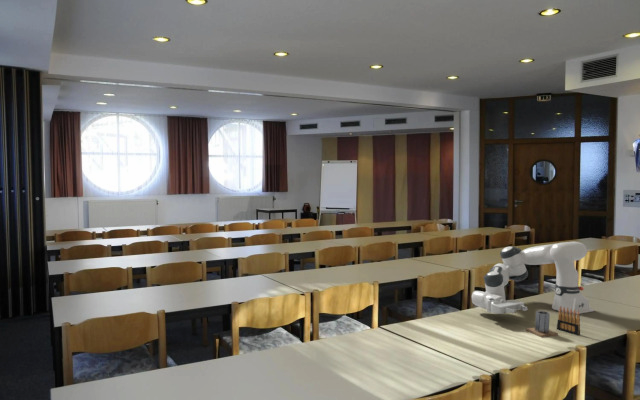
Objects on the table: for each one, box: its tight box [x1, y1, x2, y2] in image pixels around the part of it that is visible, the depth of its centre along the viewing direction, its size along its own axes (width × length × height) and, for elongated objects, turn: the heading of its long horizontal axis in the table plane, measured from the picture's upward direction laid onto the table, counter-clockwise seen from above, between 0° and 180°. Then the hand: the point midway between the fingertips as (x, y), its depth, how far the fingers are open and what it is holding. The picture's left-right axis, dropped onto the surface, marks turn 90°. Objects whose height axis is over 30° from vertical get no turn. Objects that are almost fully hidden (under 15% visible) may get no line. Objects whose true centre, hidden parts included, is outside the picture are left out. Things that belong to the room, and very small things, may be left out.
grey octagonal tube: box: [534, 310, 551, 333], centre depth 242 cm, size 6×6×9 cm
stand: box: [525, 327, 559, 338], centre depth 242 cm, size 10×10×9 cm
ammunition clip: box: [556, 306, 581, 336], centre depth 244 cm, size 11×2×12 cm, turn 36°
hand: (520, 310), depth 252 cm, fingers open, 8 cm apart
